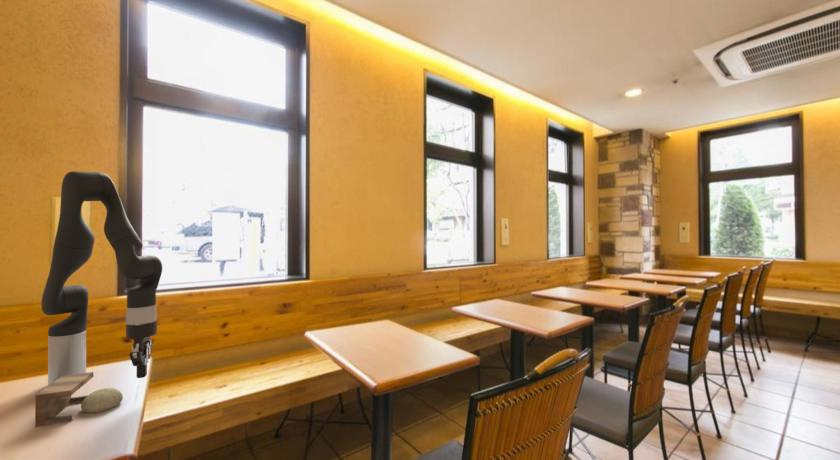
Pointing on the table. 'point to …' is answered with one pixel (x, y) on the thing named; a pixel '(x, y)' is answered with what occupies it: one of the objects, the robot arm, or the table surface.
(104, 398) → the sea urchin shell
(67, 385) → the shelf
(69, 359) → the robot arm
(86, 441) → the table surface
